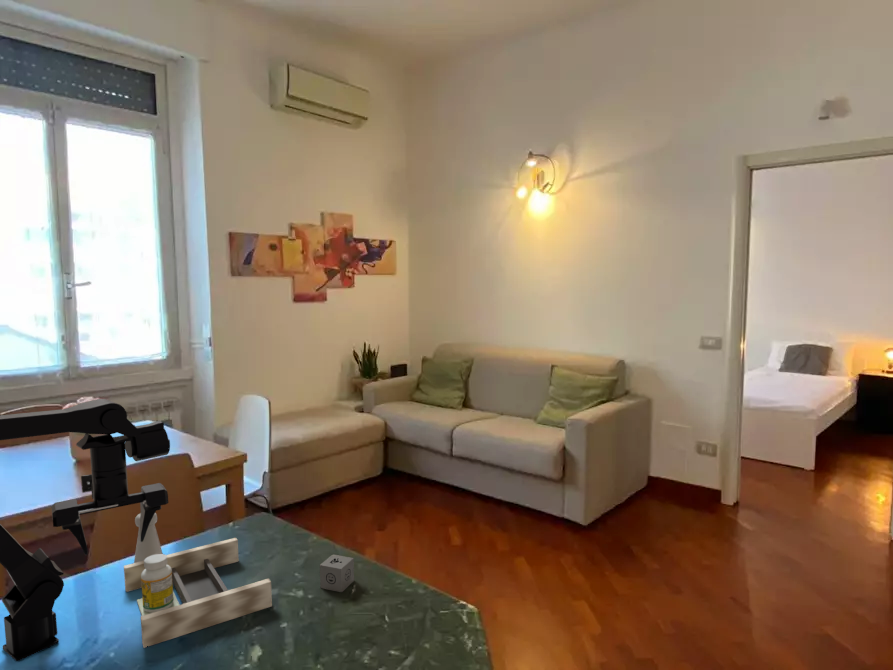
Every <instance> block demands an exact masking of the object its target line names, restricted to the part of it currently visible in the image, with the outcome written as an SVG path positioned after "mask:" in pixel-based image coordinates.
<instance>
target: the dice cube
mask: <svg viewBox="0 0 893 670" xmlns="http://www.w3.org/2000/svg"><path fill="white" fill-rule="evenodd" d="M354 561H355V559H354V557H349V556H344V555H338V554H332V555H330V556H329V557H328V558H326V559H325V560H324V561H323V562H322V563H320V564H319V577H320V578H319V579H320V589H322V590H323V589H325V590H329V591H333V592H339V593H343V592H344V591H345V590H346V589H347V588H348V587H349V586H351V584H352V583H354V581H355V565H354Z"/></svg>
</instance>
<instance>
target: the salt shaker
mask: <svg viewBox="0 0 893 670" xmlns="http://www.w3.org/2000/svg"><path fill="white" fill-rule="evenodd" d="M140 514H141V512H140V513H138V514H137V515H136V517H134V518H135V519H134V523H135V526H136V527H138V531H137V540H136V547H135V552H134V553H135V554H134V560H133V561H134V562H133V563H137V562H141V561H144V560H145V559H146V558H147V557H149V556H151V555H155V554H164V553H163V549H162V546H161V542H160V539H159V535H158V531H157V527H156V524H157V522H158V514H157V513H156V512H155V514H154V516H153V518H152V520H151V521H150V524H149V526H148V529H147V532H146V535H145V537H144V540H143V542H141V541H140V534H139V531H140Z"/></svg>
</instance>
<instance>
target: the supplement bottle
mask: <svg viewBox="0 0 893 670" xmlns="http://www.w3.org/2000/svg"><path fill="white" fill-rule="evenodd" d="M166 555H167V554H164V553H163V554H155V555H151V556H149V557H147V558H146V559H145V560H144V567H145V569H144V570H143V572H142V574H141V584H142V588H141V596H142V597H141V598H142V600H143V609H144V610H145V611H146V612H149V613H154V612H158V611H161V610H164V609H168V608H169V607H170V606H171V605H172V604H173V592H174V588H173V587H174V584H173V582H172V569H171V567H170V566H169V565H167V562H168V561H167V556H166Z"/></svg>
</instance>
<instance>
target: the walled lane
mask: <svg viewBox="0 0 893 670" xmlns="http://www.w3.org/2000/svg"><path fill="white" fill-rule="evenodd" d="M165 555H166V556H167V561H168V562H167V565H169V566H170V567H171V569H172V584H173V587H174V589H175V590H176V592H177V595H178V596H179V599H180V601H181V603H182V604H180V602H179V601H178V599H177V598H178V597H177V596H176V594H175V592H174V591H173V604H172V605H171V606H170V607H169V608H168V609H164V610H161V611H158V612H154V613H149V612H146V611H145V610H144V609H143V600H142V597H141V598H138V599H136V603H137V605H138V606H137V607H138V609H139V612H140V615H141V616H140V628H141V640H142V641H141V643H142V646H143V648H144V649H145V648H147V646H148V647H150V646H154V645H158V644H160V643H162V642H166V641H170V640H172V639H175V638H179V637H181V636H185V635H188V634H190V633H194V632H197V631H200V630H203V629H207V628H210V627H213V626H215V625H218V624H222V623H224V622H228V621H230V620H234V619H237V618H240V617H243V616H246V615H249V614H252V613H255V612H259V611H261V610H265V609H267V608H270V607H273V601H272V599H273V598H272V597H273V595H272V581H271V579H270V578H269V577H268V578H265V579H262V580H258V581H256V582H252V583H249V584H245V585H243V586H238V587H235V588H232V589H228V588H227V586H226V584H225V583H224V581H223V580H222V579H221V577H220V575H219V574H218V571H217V570H216V568H220V567H224V566H226V565H230V564H235V563H237V562H239V558H240V557H239V540H238V539H237V537H233V538H229V539H225V540H224V539H223V540H221V541H216V542H213V543H210V544H204V545H201V546H197V547H193V548H190V549H185V550H181V551H177V552H173V553H169V554H165ZM144 569H145V567H144V561H141V562H137V563H134V562H133V563H130V564H125V565H123V573H124V575H123V576H124V590H125V592H126V593H128V592H132V591H135V590H139V589H142V584H141V574H142V572H143V570H144Z"/></svg>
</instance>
